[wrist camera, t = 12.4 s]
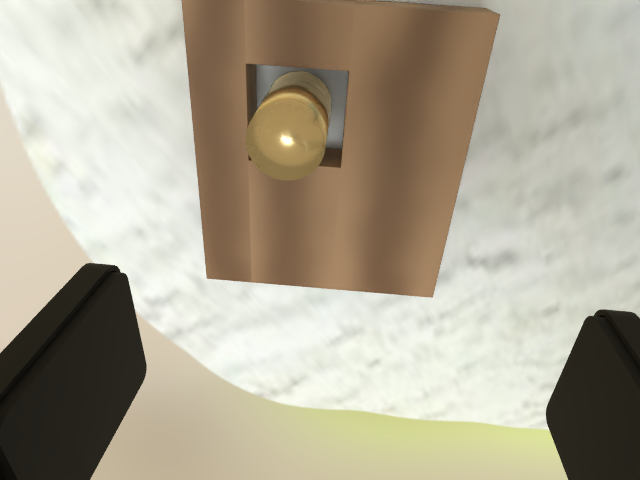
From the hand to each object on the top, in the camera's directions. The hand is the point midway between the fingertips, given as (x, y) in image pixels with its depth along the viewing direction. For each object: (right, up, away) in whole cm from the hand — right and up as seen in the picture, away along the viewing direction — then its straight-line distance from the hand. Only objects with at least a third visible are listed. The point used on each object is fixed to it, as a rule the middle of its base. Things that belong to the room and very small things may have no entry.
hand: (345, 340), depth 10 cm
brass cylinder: (-2, +11, +19) cm, 22 cm away
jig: (0, +8, +21) cm, 22 cm away
